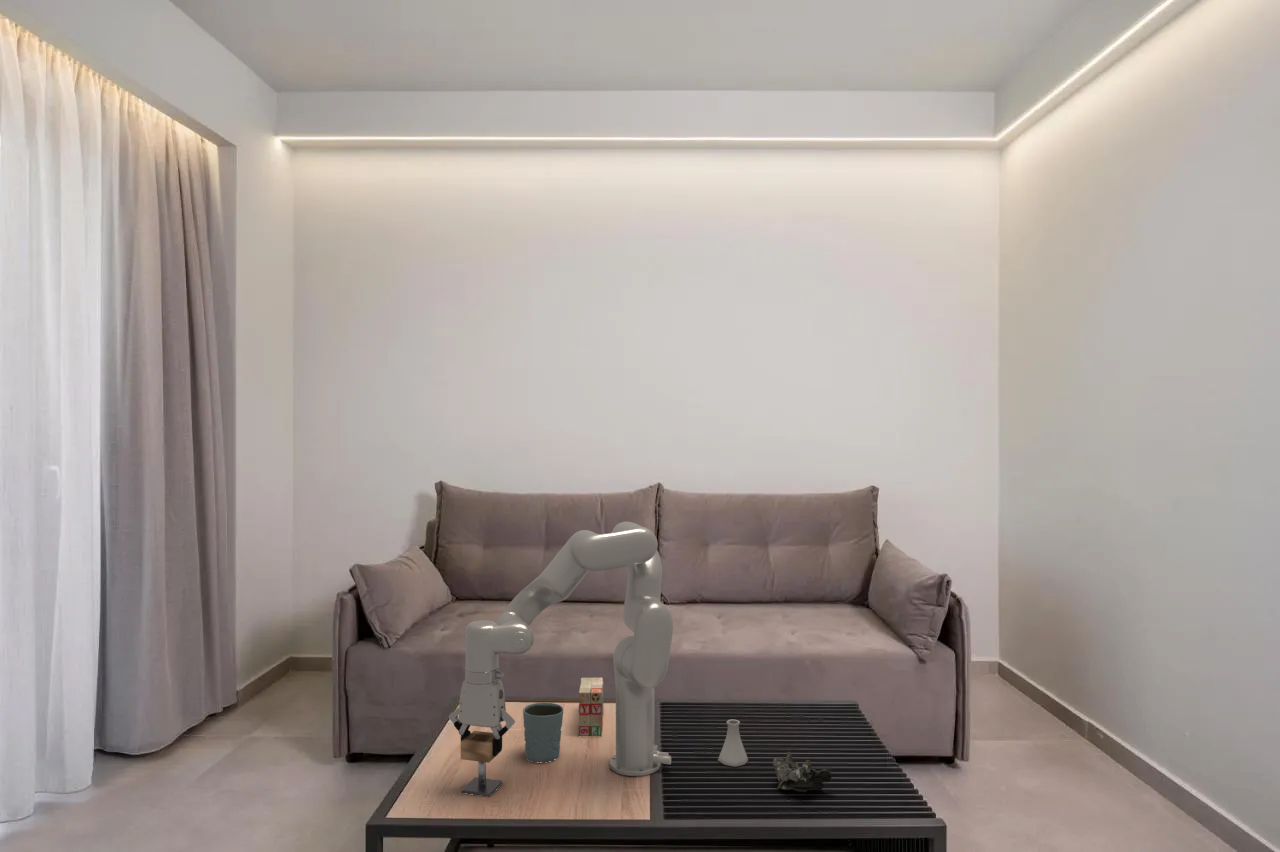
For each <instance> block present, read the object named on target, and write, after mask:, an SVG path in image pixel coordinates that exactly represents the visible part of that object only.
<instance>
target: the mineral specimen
mask: <svg viewBox="0 0 1280 852" xmlns="http://www.w3.org/2000/svg"><path fill="white" fill-rule="evenodd" d="M772 766H773V768H774V770H775V773H776V777H777V781H778V782H779V783H778V786H777V789H779V790H780V789H782V790H793V791H796V792H800V793H806V792H807V791H821V790H822V789H823V788H824V787H825V785H824V783H825V784H826V783H831V782H833V780H832V778H833V777H832V770H831V769H830V768H823V769H821V770H817V769H814V768H813V767H812V765H811V760H810V759H806V760H805V762H804V763H802V764H801V765H799V763H798V762H797V761H794V760H793V756H792V753H791V752H790V751H787V754H786V757H785V758H781V757H776V756H775V757H774V759H773V762H772Z"/></svg>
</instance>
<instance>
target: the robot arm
mask: <svg viewBox="0 0 1280 852" xmlns="http://www.w3.org/2000/svg"><path fill="white" fill-rule="evenodd" d="M658 543H659V542H658V539H657V537H656V534H655V533H654V532H653V531H652V530H650V529H649V528H648V527H644V526H643V525H640V524H638V523H635V522H631V521H622V522H619V523H617V524H616V525H615V526H614V527H613V529H612V531H611V532H608V533H601V534H600V533H596V532H594V531H593V530H592V531H591V530H586V529H581V530H579V531H577V532H574V534H573V535H572V536H570V537H569V539H568V540H567V541H566V542H565V543H564V544H563V546H562V547H561V548H560V550H559V551H558V553H557V554H556V555H555V556H554V557H553V559H551V561H550V562H549V563H548V564H547V566H546V567H545V568H544V569H543V571H542V572H541V573H540V574H539V576H537V577H536V578H535V579H533V580H532V581H531V582H530V583H529V584H528V585H527V586H525V587H524V588H523V589H522V590H520V591H519V592H518V593H517V594H516V595H515V597H513V599H512V600H511V602H510V603H509V604H508V605H507V606H506V608H504V610H503V611H502V612H501V613H500V615H499V616H498V618H497V619H496V622H495V621H492V620H487V619H485V620H484V619H480V620H474V621H471V622H470V623H468V624H467V625H466V627H465V659H464V660H465V672H464V673H465V675H464V680H463V681H462V684H461V687H460V688H461V689H460V694H459V695H460V696H459V706H458V708H456V709H455V710H454V711H452V712H451V713H450V714H449V715H448V719H449V720H450V721H451V722H452V724H453V726H454V727H455V729H456V730H457V731H458V735H459V736H460V742H461V741H462V740H463V739H465V738H466V737H467V736H469V735H470V734H471V733H472V732H471V730H470V727H471V726H472V727H473V726H474V727H480V728H481V727H482V728H490V729H491V733H493V734H494V736H495V738H494V739H493V756H496V757H497V756H498V755H499V754H500V753H501V752H502V751H501V750H503V736H504V735H505V734H506V733H507V732H508V731H509V730H510V729H511V728H512V727H513V725H514V724H515V722H516V720H515V719H514V718H513V717H512V716H511V715H510V714H509V713H508V711H507V709H506V707H507V706H506V698H505V689H504V684H503V681H502V680H501V679H503V678H504V676H505V673H504V672H502V671H500V667H499V664H500V663H499V661H500V659H499V654H501V655H511V656H513V655H514V656H517V655H522V654H525V653H527V652H528V651H529V650H530V649H532V647H533V645H534V643H535V635H534V632H533V629H532V628H531V626H530V625H531V624H532V623H533V622H534V621H535V619H536V618H537V617H538V615H540V614H541V613H542V612H543V611H544V610H545V609H547V608H548V607H550V606H552V605H554V604H557V603H560V602H563V601H565V600H566V599H567V598H569V597H570V596H571V594H572V593H573V591H574V590H576V588H577V587H578V585H579V584H580V583H581V582H582V581H583V579H584V578H585V577H586V575H587V574H588V573H589V572H590V571H591V572H602V571H608V570H615V569H620V568H626V567H627V580H626V581H627V582H626V590H625V598H624V604H623V610H622V611H623V612H622V619H623V622H624V624H625V626H627V629H629V630H630V631H631V632H632V633H633V635H630V636H626V637H623V638H622V639H621V640H620V641H619V642H618V643H617V645H616V646H615V648H614V651H613V657H612V660H613V661H612V662H613V671H614V672H613V673H614V681H615V755H613V756H612V757H611V758H610V759H609V765H608V766H609V768H610V769H611V770H612V772H615V773H616V774H619V775H623V776H630V777H642V776H648V775H651V774H653V773H655V772H657V771H658V770H659V769H660V768H661V764H665V765H671V764H672V755H669V752H664V751H660V750H658V744H655V701H656V700H655V697H656V696H655V687H657V686H658V685H660V683H662V681H663V680H664V679H665V677H666V675H667V672H668V668H669V663H670V655H671V648H672V640H673V633H674V632H673V631H674V621H673V616H672V613H671V611H670V610H669V608H668V606H667V605H665V604H664V603H663V602H661V595H662V583H663V582H662V581H663V564H662V559H661V556H660V553H659V551H658V545H659V544H658ZM502 722H505V725H504V726H502V725H503V724H501V723H502Z"/></svg>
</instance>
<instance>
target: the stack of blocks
mask: <svg viewBox="0 0 1280 852" xmlns="http://www.w3.org/2000/svg"><path fill="white" fill-rule="evenodd" d="M578 690H579V691H578V721H579V722H578V737H579V736H600V737H602V736H603V725H604V722H603V721H604V718H603V717H604V677H581V678H580V686H579V689H578Z"/></svg>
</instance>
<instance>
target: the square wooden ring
mask: <svg viewBox="0 0 1280 852" xmlns="http://www.w3.org/2000/svg"><path fill="white" fill-rule="evenodd" d="M494 738H495V736H494V734H493V732H491V731H489V732H488V731H480V730H473V731H472V732H471V734H470V735H469V736H467V737H466V738H465V739H463V740H462V741H461V740H460V760H463V761H470V762H471V761H473V762H477V763H478V762H486V764H487V763H488V764H489V763H491V761H492V760H493V759H495V758H496V757H497V756H493V739H494ZM502 750H503V749H502ZM502 750H501V752H502Z"/></svg>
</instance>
